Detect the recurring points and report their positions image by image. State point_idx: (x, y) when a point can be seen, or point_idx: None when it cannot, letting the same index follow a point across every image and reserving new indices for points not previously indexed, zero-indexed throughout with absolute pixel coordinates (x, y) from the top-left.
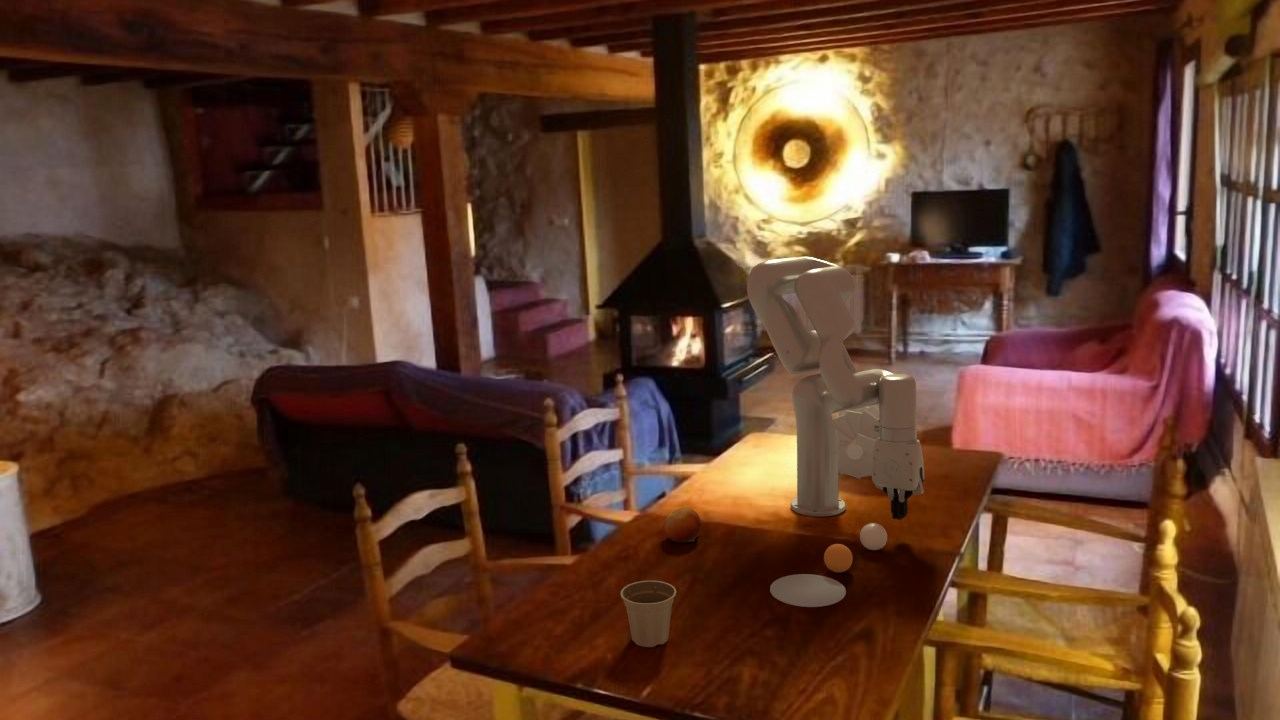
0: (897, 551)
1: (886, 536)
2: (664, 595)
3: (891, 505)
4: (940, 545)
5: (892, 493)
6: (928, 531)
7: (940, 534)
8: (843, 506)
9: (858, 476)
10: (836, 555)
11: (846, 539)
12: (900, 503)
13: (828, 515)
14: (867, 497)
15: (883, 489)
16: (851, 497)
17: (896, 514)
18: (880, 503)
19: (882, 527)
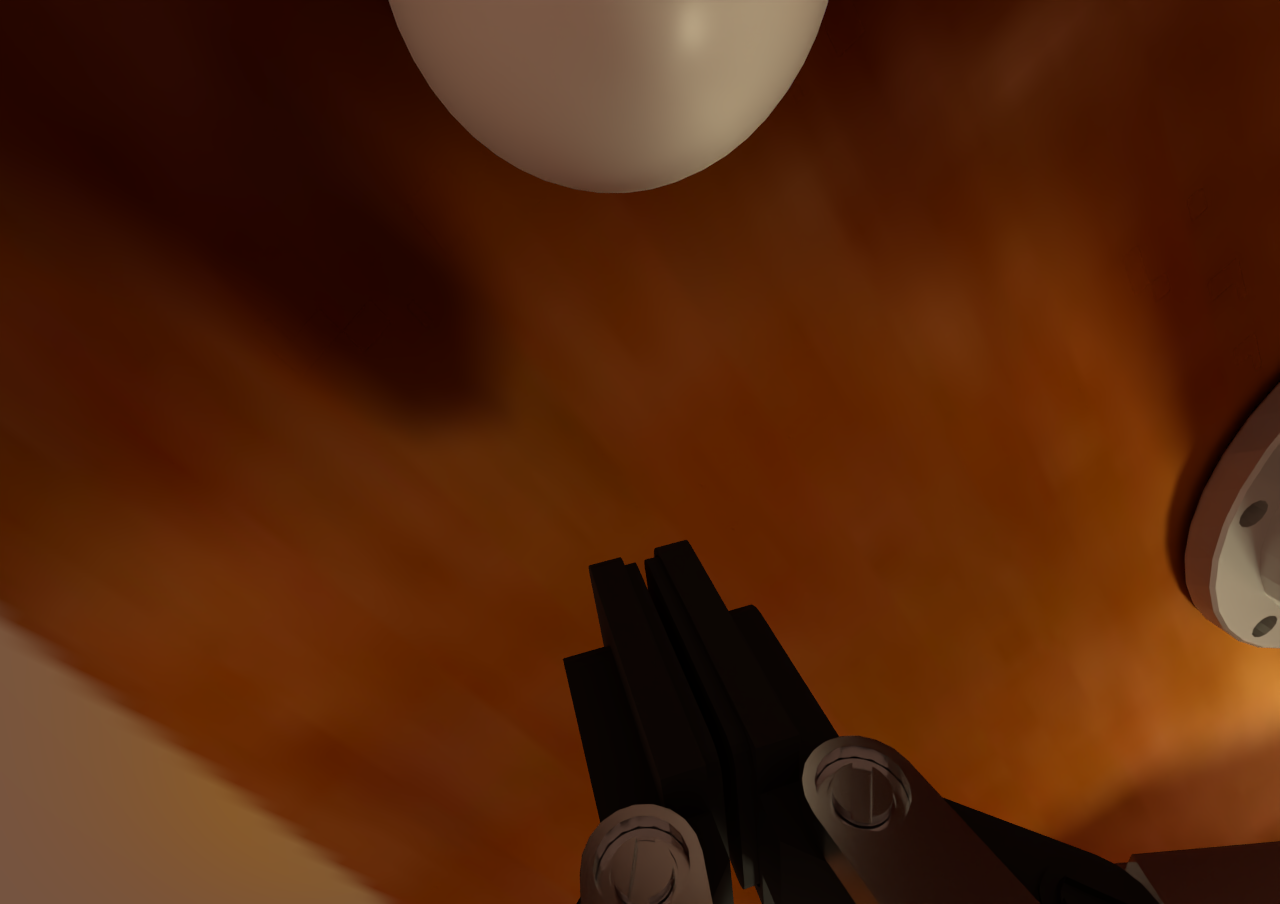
0: (334, 162)
1: (403, 31)
2: None
3: (793, 681)
4: (198, 615)
5: (880, 895)
6: (510, 729)
7: (402, 755)
8: (1220, 571)
9: None
10: None
11: (967, 39)
12: (654, 781)
13: (1274, 393)
14: (1108, 785)
15: (1121, 878)
16: (1189, 726)
17: (647, 597)
18: (1014, 785)
19: (507, 35)
